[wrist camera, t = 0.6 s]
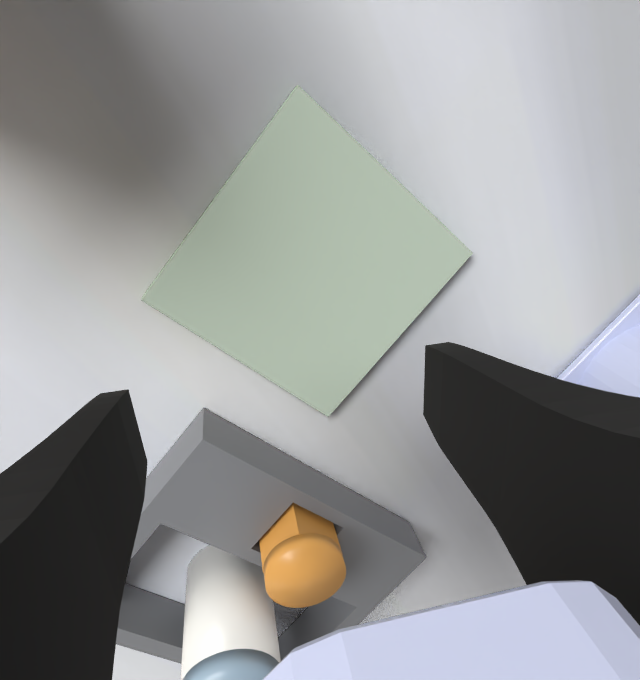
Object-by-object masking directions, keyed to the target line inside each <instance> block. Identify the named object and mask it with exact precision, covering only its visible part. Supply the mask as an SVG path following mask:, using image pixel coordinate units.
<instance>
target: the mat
mask: <svg viewBox="0 0 640 680" xmlns="http://www.w3.org/2000/svg"><path fill="white" fill-rule="evenodd" d="M472 254H473V253H472V252H471V251H470V250H469V249H468V248H467V247H466V246H465V245H464V244H463V243H462V242H461V241H460V240H459V239H458V238H457V237H456V236H455V235H453V234H452V233H451V232H450V231H449V230H448V229H447V228H446V227H445V226H444V225H443V224H442V223H441V222H440V221H439V220H438V219H437V218H436V217H435V216H434V215H433V214H432V213H431V212H430V211H429V210H427V209H426V208H425V207H424V206H423V205H422V204H421V203H420V202H419V201H418V200H417V199H416V198H415V197H414V196H413V195H412V194H411V193H410V192H409V191H408V190H407V189H406V188H405V187H404V186H403V185H401V184H400V183H399V182H398V181H397V180H396V179H395V178H394V177H393V176H392V175H391V174H390V173H389V172H388V171H387V170H386V169H385V168H384V167H383V166H382V165H381V164H380V163H379V162H378V161H377V160H375V159H374V158H373V157H372V156H371V155H370V154H369V153H368V152H367V151H366V150H365V149H364V148H363V147H362V146H361V145H360V144H359V143H358V142H357V141H356V140H355V139H354V138H353V137H352V136H351V135H349V134H348V133H347V132H346V131H345V130H344V129H343V128H342V127H341V126H340V125H339V124H338V123H337V122H336V121H335V120H334V119H333V118H332V117H331V116H330V115H329V114H328V113H327V112H326V111H325V110H323V109H322V108H321V107H320V106H319V105H318V104H317V103H316V102H315V101H314V100H313V99H312V98H311V97H310V96H309V95H308V94H307V93H306V92H305V91H304V90H303V89H302V88H301V87H300V86H299V85H297V86H296V87H295V88H294V90H293V91H292V92H291V94H290V95H289V96H288V98H287V99H286V101H285V102H284V103H283V105H282V106H281V107H280V109H279V110H278V111H277V113H276V114H275V116H274V117H273V118H272V120H271V121H270V122H269V124H268V125H267V127H266V128H265V129H264V131H263V132H262V133H261V135H260V136H259V137H258V139H257V140H256V142H255V143H254V144H253V146H252V147H251V148H250V150H249V151H248V153H247V154H246V155H245V157H244V158H243V159H242V161H241V162H240V164H239V165H238V166H237V168H236V169H235V170H234V172H233V173H232V174H231V176H230V177H229V179H228V180H227V181H226V183H225V184H224V185H223V187H222V188H221V190H220V191H219V192H218V194H217V195H216V196H215V198H214V199H213V201H212V202H211V203H210V205H209V206H208V207H207V209H206V210H205V211H204V213H203V214H202V216H201V217H200V218H199V220H198V221H197V222H196V224H195V225H194V227H193V228H192V229H191V231H190V232H189V233H188V235H187V236H186V237H185V239H184V240H183V242H182V243H181V244H180V246H179V247H178V248H177V250H176V251H175V253H174V254H173V255H172V257H171V258H170V259H169V261H168V262H167V264H166V265H165V266H164V268H163V269H162V270H161V272H160V273H159V274H158V276H157V277H156V279H155V280H154V281H153V283H152V284H151V285H150V287H149V288H148V290H147V291H146V292H145V294H144V295H143V297H142V299H141V300H142V301H143V302H145V303H146V304H148V305H150V306H151V307H153V308H154V309H156V310H158V311H159V312H161V313H162V314H164V315H166V316H167V317H169V318H170V319H172V320H174V321H175V322H177V323H178V324H180V325H182V326H183V327H185V328H186V329H188V330H190V331H191V332H193V333H194V334H196V335H198V336H199V337H201V338H202V339H204V340H206V341H207V342H209V343H210V344H212V345H214V346H215V347H217V348H218V349H220V350H222V351H223V352H225V353H226V354H228V355H230V356H231V357H233V358H234V359H236V360H238V361H239V362H241V363H242V364H244V365H246V366H247V367H249V368H251V369H252V370H254V371H255V372H257V373H259V374H260V375H262V376H263V377H265V378H267V379H268V380H270V381H271V382H273V383H275V384H276V385H278V386H279V387H281V388H283V389H284V390H286V391H287V392H289V393H291V394H292V395H294V396H295V397H297V398H299V399H300V400H302V401H303V402H305V403H307V404H308V405H310V406H311V407H313V408H315V409H316V410H318V411H319V412H321V413H323V414H324V415H326V416H327V417H329V416H330V415H331V413H332V412H333V411H334V410H335V409H336V408H337V407H338V405H339V404H340V403H341V402H342V401H343V400H344V399H345V398H346V396H347V395H348V394H349V393H350V392H351V391H352V390H353V388H354V387H355V386H356V385H357V384H358V383H359V382H360V381H361V379H362V378H363V377H364V376H365V375H366V374H367V373H368V371H369V370H370V369H371V368H372V367H373V366H374V365H375V364H376V362H377V361H378V360H379V359H380V358H381V357H382V356H383V354H384V353H385V352H386V351H387V350H388V349H389V348H390V347H391V345H392V344H393V343H394V342H395V341H396V340H397V339H398V337H399V336H400V335H401V334H402V333H403V332H404V331H405V330H406V328H407V327H408V326H409V325H410V324H411V323H412V322H413V320H414V319H415V318H416V317H417V316H418V315H419V314H420V313H421V311H422V310H423V309H424V308H425V307H426V306H427V305H428V303H429V302H430V301H431V300H432V299H433V298H434V297H435V296H436V294H437V293H438V292H439V291H440V290H441V289H442V288H443V286H444V285H445V284H446V283H447V282H448V281H449V280H450V279H451V277H452V276H453V275H454V274H455V273H456V272H457V271H458V269H459V268H460V267H461V266H462V265H463V264H464V263H465V262H466V260H467V259H468V258H469V257H470V256H471V255H472Z"/></svg>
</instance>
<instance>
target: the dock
mask: <svg viewBox="0 0 640 680" xmlns="http://www.w3.org/2000/svg"><path fill="white" fill-rule="evenodd" d="M292 503H295V504H297V505H299V506H301V507H303V508H305V509H307V510H309V511H311V512H313V513H315V514H317V515H319V516H321V517H323V518H325V519H327V520H329V521H331V522H333V524H334V528H335V531H336V534H337V538H338V541H339V544H340V547H341V551H342V554H343V555H342V556H343V559H344V562H345V565H346V577H345V580H344V582H343V584H342V586H341V587H340V588H339V589H338V591H337V592H336V593H335V594H333V595H332V596H331V597H330V598H328V599H326V600H325V601H323V602H321V603H318V604H316V605H313V606H309V607H308V608H307V609H306V610H305V611H304V612H303V613H302V614H301V615H300V616H299V617H298V618H297V619H296V620H295V622H294V623H293V624H292V625H291V626H290V627H289V628H288V629H287V630H286V631H285V632H284V633H283V634H282V635H281V636H280V637H279V638H278V643H279V651H280V659H281V661H282V660H283V659H284V658H285V657H286V656H287V655H288V654H289V653H290V652H291V651H292V650H293V649H294V648H296V647H298V646H301V645H303V644H305V643H308V642H310V641H312V640H315V639H317V638H320V637H322V636H324V635H327V634H329V633H331V632H334V631H336V630H338V629H342V628H347V627H351V626H355V625H358V624H359V623H360V622H361V621H362V620H363V619H364V618H365V617H366V616H367V615H368V614H369V613H370V612H371V611H372V610H374V609H375V608H376V607H377V606H378V605H379V604H380V603H381V602H382V601H383V600H384V599H385V598H386V597H387V596H388V595H389V594H390V593H391V592H392V591H393V590H394V589H395V588H396V587H397V586H398V585H399V584H400V583H401V582H402V581H403V580H404V579H405V578H406V577H407V576H408V575H409V574H410V573H411V572H412V571H413V570H414V569H415V568H416V567H417V566H418V565H419V564H420V563H421V562H422V561H423V560H424V559H425V558H426V555H425V553H424V551H423V549H422V547H421V545H420V543H419V541H418V539H417V537H416V535H415V532H414V530H413V528H412V526H411V524H410V522H408V521H406V520H404V519H403V518H401V517H399V516H397V515H395V514H394V513H392V512H390V511H388V510H386V509H385V508H383V507H381V506H379V505H377V504H376V503H374V502H372V501H370V500H368V499H367V498H365V497H363V496H361V495H359V494H358V493H356V492H354V491H352V490H350V489H349V488H347V487H345V486H343V485H341V484H340V483H338V482H336V481H334V480H333V479H331V478H329V477H327V476H325V475H324V474H322V473H320V472H318V471H316V470H315V469H313V468H311V467H309V466H307V465H306V464H304V463H302V462H300V461H298V460H297V459H295V458H293V457H291V456H289V455H288V454H286V453H284V452H282V451H280V450H279V449H277V448H275V447H273V446H271V445H270V444H268V443H266V442H264V441H262V440H261V439H259V438H257V437H255V436H253V435H252V434H250V433H248V432H246V431H245V430H243V429H241V428H239V427H237V426H236V425H234V424H232V423H230V422H228V421H227V420H225V419H223V418H221V417H219V416H218V415H216V414H214V413H212V412H210V411H209V410H207V409H205V408H203V409H202V410H201V412H200V413H199V414H198V415H197V416H196V418H195V419H194V420H193V421H192V423H191V424H190V425H189V426H188V428H187V429H186V430H185V431H184V433H183V434H182V435H181V436H180V438H179V439H178V440H177V441H176V442H175V444H174V445H173V446H172V447H171V449H170V450H169V451H168V452H167V454H166V455H165V456H164V457H163V459H162V460H161V461H160V462H159V463H158V465H157V466H156V467H155V468H154V470H153V471H152V472H151V473H150V475H149V476H148V477H147V478H146V486H145V497H144V503H143V508H142V512H141V517H140V521H139V525H138V530H137V534H136V538H135V543H134V547H133V551H132V556H131V559H132V558H133V556H134V555H135V554H136V553H137V552H138V550H139V549H140V548H141V547H142V546H143V544H144V543H145V542H146V541H147V540H148V538H149V537H150V536H151V535H152V534H153V532H154V531H155V530H156V529H157V528H158V527H159V525H160V524H162V525H164V526H167V527H169V528H171V529H174V530H176V531H179V532H181V533H183V534H186V535H188V536H190V537H193V538H195V539H197V540H200V541H202V542H204V543H207V544H209V545H211V546H214V547H216V548H218V549H221V550H223V551H226V552H228V553H230V554H233V555H235V556H237V557H240V558H242V559H244V560H247V561H249V562H251V563H254V564H256V565H258V566H261V567H262V561H261V552H260V543H259V539H260V538H261V537H262V536H263V535H264V534H265V533H266V532H267V531H268V529H269V528H270V527H271V526H272V525H273V524H274V523H275V522H276V521H277V520H278V518H279V517H280V516H281V515H282V514H283V513H284V512H285V511H286V510H287V508H288V507H289V506H290V505H291V504H292ZM184 613H185V605H184V604H181V603H178V602H175V601H173V600H170V599H167V598H164V597H161V596H159V595H156V594H153V593H150V592H147V591H145V590H142V589H139V588H136V587H133V586H131V585H128V584H125V586H124V590H123V596H122V601H121V606H120V613H119V621H118V629H117V638H116V644H117V645H121V646H124V647H127V648H131V649H134V650H137V651H141V652H144V653H147V654H151V655H154V656H157V657H161V658H164V659H167V660H171V661H174V662H177V663H181V664H182V648H183V631H184Z"/></svg>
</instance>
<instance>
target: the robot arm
mask: <svg viewBox="0 0 640 680" xmlns="http://www.w3.org/2000/svg"><path fill="white" fill-rule="evenodd" d="M423 415H424V417H425V419H426V421H427V423H428V425H429V427H430V429H431V431H432V433H433V435H434V437H435V439H436V441H437V443H438V445H439V446H440V448H441V449H442V451H443V452H444V454H445V455H446V457H447V458H448V460H449V461H450V463H451V464H452V465H453V467H454V468H455V470H456V471H457V473H458V474H459V475H460V477H461V478H462V480H463V481H464V482H465V484H466V485H467V487H468V488H469V490H470V491H471V492H472V494H473V495H474V497H475V498H476V499H477V501H478V502H479V504H480V505H481V506H482V508H483V509H484V511H485V512H486V514H487V515H488V517H489V518H490V520H491V521H492V523H493V524H494V526H495V528H496V529H497V531H498V533H499V534H500V536H501V538H502V540H503V542H504V543H505V545H506V547H507V549H508V551H509V553H510V554H511V556H512V558H513V560H514V562H515V563H516V565H517V567H518V569H519V571H520V573H521V575H522V577H523V579H524V580H525V582H526V584H527V585H526V586H521V587H517V588H513V589H509V590H504V591H500V592H496V593H492V594H487V595H483V596H479V597H474V598H470V599H466V600H462V601H457V602H453V603H449V604H445V605H440V606H436V607H432V608H428V609H423V610H419V611H415V612H411V613H406V614H402V615H398V616H393V617H389V618H385V619H381V620H376V621H372V622H368V623H364V624H359V625H355V626H351V627H347V628H342V629H338V630H336V631H334V632H331V633H329V634H327V635H324V636H322V637H320V638H317V639H315V640H312V641H310V642H308V643H305V644H303V645H301V646H298V647H296V648H294V649H293V650H292V651H291V652H290V653H289V654H288V655H287V656H286V657H285V658H284V659H283V660H282V661H281V662H280V663H279V664H278V665H277V666H276V667H274V668H273V669H272V670H271V671H270V672H269V673H268V674H267V675H266V676H265V677H264V678H263V679H262V680H640V294H639V295H638V296H637V297H636V298H635V299H634V301H633V302H632V303H631V304H630V305H629V306H628V307H627V308H626V309H625V310H624V311H623V312H622V313H621V314H620V315H619V316H618V317H617V318H616V319H615V320H614V321H613V322H612V323H611V324H610V325H609V326H608V327H607V328H606V329H605V330H604V331H603V332H602V333H601V334H600V335H599V336H598V337H597V338H596V339H595V340H594V341H593V342H592V343H591V344H590V345H589V346H588V347H587V348H586V349H585V350H584V351H583V352H582V353H581V354H580V355H579V356H578V357H577V358H576V359H575V360H574V361H573V362H572V363H571V364H570V365H569V366H568V367H567V368H566V369H565V370H564V371H563V372H562V373H561V374H560V375H559V376H558V377H557V378H554V377H551V376H547V375H544V374H541V373H538V372H535V371H532V370H529V369H526V368H523V367H520V366H517V365H515V364H512V363H509V362H506V361H504V360H501V359H498V358H495V357H493V356H490V355H487V354H485V353H482V352H479V351H476V350H474V349H471V348H468V347H465V346H462V345H458V344H455V343H450V342H446V343H439V344H433V345H426V347H425V380H424V413H423ZM146 473H147V458H146V455H145V451H144V447H143V443H142V440H141V436H140V432H139V428H138V424H137V421H136V417H135V413H134V409H133V405H132V402H131V398H130V394H129V390H121V391H115V392H108V393H101V394H99V395H98V396H96V397H95V398H94V399H92V400H91V401H90V402H88V403H87V404H86V405H85V406H84V407H82V408H81V409H80V410H79V411H78V412H77V413H75V414H74V415H73V416H72V417H71V418H70V419H68V420H67V421H66V422H65V423H64V424H63V425H61V426H60V427H59V428H58V429H57V430H56V431H54V432H53V433H52V434H51V435H50V436H48V437H47V438H46V439H45V440H44V441H42V442H41V443H40V444H39V445H37V446H36V447H35V448H33V449H32V450H31V451H30V452H28V453H27V454H26V455H24V456H23V457H22V458H21V459H19V460H18V461H17V462H15V463H14V464H13V465H11V466H10V467H9V468H8V469H6V470H5V471H3V472H2V473H1V474H0V680H112V673H113V663H114V654H115V646H116V638H117V629H118V621H119V613H120V606H121V601H122V596H123V590H124V586H125V581H126V577H127V573H128V568H129V564H130V560H131V556H132V551H133V547H134V543H135V538H136V534H137V530H138V525H139V521H140V517H141V512H142V508H143V503H144V497H145V486H146Z"/></svg>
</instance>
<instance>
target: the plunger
mask: <svg viewBox="0 0 640 680" xmlns="http://www.w3.org/2000/svg"><path fill="white" fill-rule="evenodd" d="M259 543H260V552H261V561H262V570H263V573H264V580H265V588H266V592H267V594H268V595H269V597H270V598H271V599H272V600H273V601H274V602H276V603H278V604H280V605H282V606H286V607H291V608H302V607H309V606H313V605H316V604H318V603H321V602H323V601H325V600H326V599H328V598H330V597H331V596H332V595H333V594H335V593H336V592H337V591H338V589H339V588H340V587H341V586H342V584H343V582H344V580H345V577H346V565H345V562H344V559H343V556H342V555H343V554H342V551H341V547H340V544H339V541H338V538H337V534H336V531H335V528H334V524H333V522H331V521H329V520H327V519H325V518H323V517H321V516H319V515H317V514H315V513H313V512H311V511H309V510H307V509H305V508H303V507H301V506H299V505H297V504H295V503H292V504H291V505H290V506H289V507H288V508H287V510H286V511H285V512H284V513H283V514H282V515H281V516H280V517H279V518H278V520H277V521H276V522H275V523H274V524H273V525H272V526H271V527H270V528H269V529H268V531H267V532H266V533H265V534H264V535H263V536H262V537H261V538H260V539H259Z"/></svg>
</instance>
